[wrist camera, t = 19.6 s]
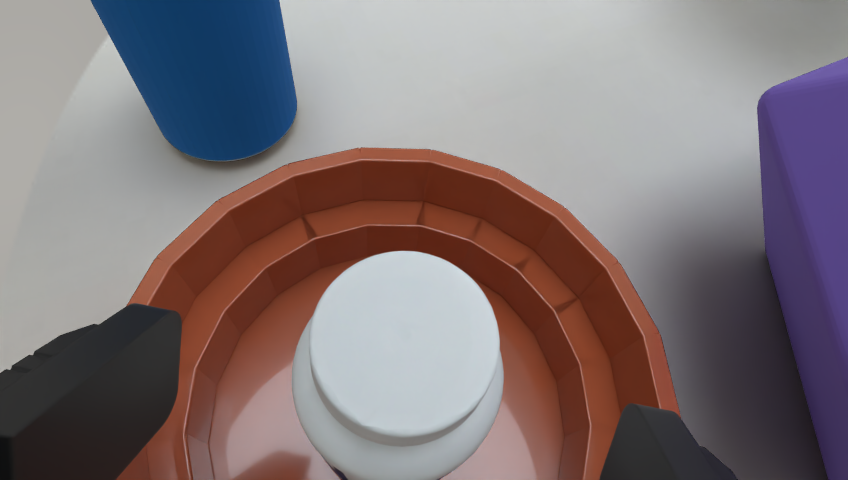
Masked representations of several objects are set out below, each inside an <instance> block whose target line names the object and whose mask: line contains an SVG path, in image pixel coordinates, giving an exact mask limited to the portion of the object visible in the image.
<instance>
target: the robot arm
mask: <svg viewBox="0 0 848 480" xmlns="http://www.w3.org/2000/svg"><path fill="white" fill-rule="evenodd" d="M181 333H182V320H181V316H180V314H179V313H178V312H177V311H173V310H168V309H163V308H158V307H153V306H148V305H143V304H138V303H132V304H130V305H128V306H126V307H125V308H123V309H122V310H120V311H119V312H117V313H116V314H114V315H113V316H111V317H110V318H108V319H107V320H105V321H104V322H102V323H101V324H99V325H97V324H92V325H89V326H86V327H83V328H81V329H78V330H75V331H72V332H69V333H66V334H63V335H60V336H58V337H57V338H55V339H54V340H52V341H51V342H49V343H47V344H46V345H44V346H43V347H41V348H39V349H38V350H36V351H35V352H34V355H33V356H32V355H28V356H27V357H25V358H23V359H22V360H20V361H19V362H17V363H16V364H14V365H12V368H11V370H7V369H6V370H4V371H3V372H1V373H0V480H116V479H117V478H118V477H119V475H120V474H121V473H122V472H123V471H124V470H125V469H126V467H127V466H128V465H129V464H130V463H131V462H132V460H133V459H134V458H135V457H136V456H137V455H138V454H139V452H140V451H141V450H142V449H143V448H144V447H145V446H146V444H147V443H148V442H149V441H150V440H151V439H152V437H153V436H154V435H155V434H156V433H157V432H158V431H159V429H160V428H161V427H162V426H163V425H164V423H165V422H166V420H167V419H168V417H169V415H170V413H171V411H172V409H173V406H174V404H175V401H176V397H177V392H178V382H179V366H180V349H181ZM599 480H738V479H737V478H736V477H735V475H734V474H733V472H732V471H731V470H730V469H729V468H728V467H727V466H725V465H724V464H723V463H722V462H721V461H720V460H719V459H717V458H716V457H715V456H714V455H713V454H712V453H711V452H709V451H708V450H707V449H706V448H705V447H702V446H699V445H698V444H697V442H696V441H695V439H694V438H693V436H692V435H691V433H690V432H689V430H688V429H687V427H686V426H685V424H684V423H683V421H682V420H681V418H680V417H679V415H678V414H677V413H675V412H673V411H669V410H664V409H659V408H654V407H649V406H644V405H639V404H634V403H630V404H628V405H627V406H626V407H625V408H624V409H623V411H622V414H621V416H620V419H619V422H618V425H617V428H616V431H615V434H614V437H613V439H612V442H611V445H610V448H609V451H608V454H607V457H606V460H605V463H604V466H603V469H602V472H601V475H600V479H599Z"/></svg>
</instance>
